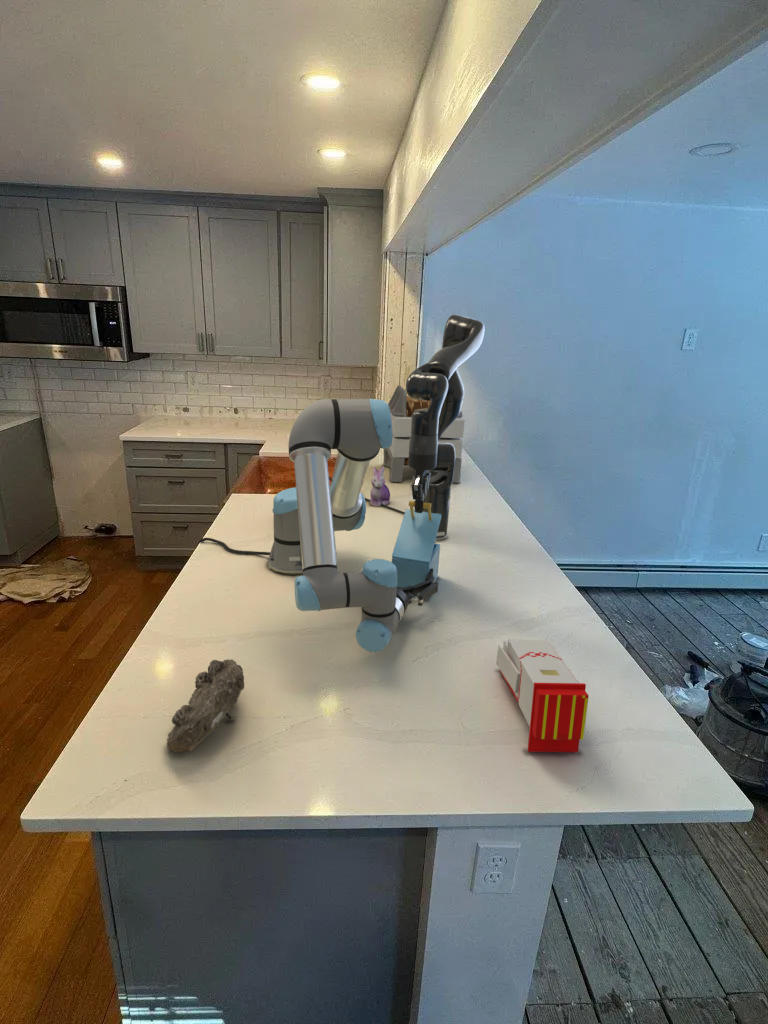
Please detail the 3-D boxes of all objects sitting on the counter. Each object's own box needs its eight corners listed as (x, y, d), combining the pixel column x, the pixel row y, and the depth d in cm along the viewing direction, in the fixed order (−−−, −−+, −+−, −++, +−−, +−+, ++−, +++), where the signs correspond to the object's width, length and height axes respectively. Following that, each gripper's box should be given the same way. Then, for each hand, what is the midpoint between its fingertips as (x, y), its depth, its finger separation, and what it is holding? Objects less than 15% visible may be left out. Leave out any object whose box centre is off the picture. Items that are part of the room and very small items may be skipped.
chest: (404, 571, 172) (405, 538, 168) (437, 577, 169) (440, 544, 165) (390, 594, 158) (391, 559, 154) (426, 600, 155) (429, 565, 151)
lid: (406, 511, 163) (403, 493, 157) (441, 516, 161) (440, 498, 154) (392, 558, 154) (388, 541, 148) (429, 564, 152) (427, 547, 145)
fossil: (192, 660, 117) (244, 628, 112) (224, 691, 120) (276, 661, 115) (142, 746, 98) (202, 712, 93) (182, 779, 101) (242, 748, 96)
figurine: (374, 508, 224) (376, 471, 219) (363, 500, 232) (364, 464, 227) (395, 505, 228) (397, 469, 223) (384, 497, 237) (385, 462, 231)
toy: (545, 622, 128) (598, 691, 98) (539, 677, 130) (589, 759, 101) (491, 621, 127) (529, 690, 98) (487, 676, 130) (522, 759, 101)
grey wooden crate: (382, 463, 289) (386, 382, 275) (445, 464, 293) (451, 384, 279) (390, 482, 257) (394, 392, 243) (460, 483, 261) (468, 394, 247)
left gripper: (344, 612, 141) (372, 575, 161) (435, 629, 135) (451, 589, 155) (345, 585, 138) (373, 551, 158) (437, 601, 132) (454, 564, 152)
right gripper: (431, 458, 142) (427, 522, 148) (442, 445, 154) (437, 504, 161) (402, 454, 144) (399, 518, 150) (415, 442, 156) (412, 501, 162)
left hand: (412, 569), depth 156 cm, fingers closed on chest, 10 cm apart
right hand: (419, 510), depth 155 cm, fingers closed on lid
